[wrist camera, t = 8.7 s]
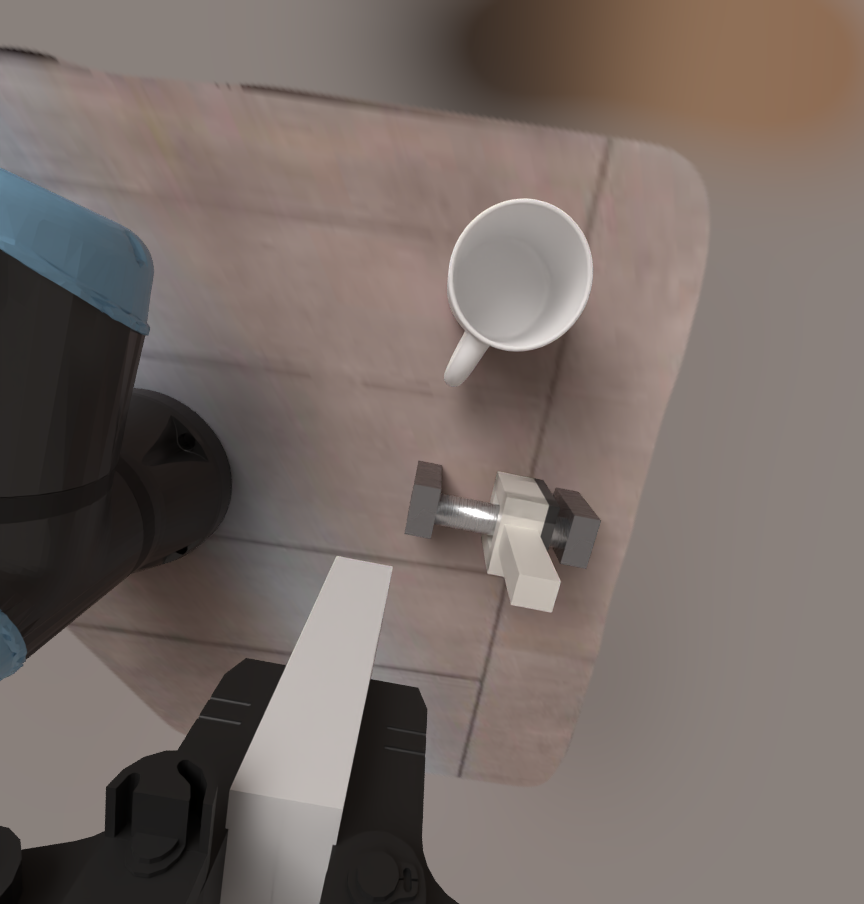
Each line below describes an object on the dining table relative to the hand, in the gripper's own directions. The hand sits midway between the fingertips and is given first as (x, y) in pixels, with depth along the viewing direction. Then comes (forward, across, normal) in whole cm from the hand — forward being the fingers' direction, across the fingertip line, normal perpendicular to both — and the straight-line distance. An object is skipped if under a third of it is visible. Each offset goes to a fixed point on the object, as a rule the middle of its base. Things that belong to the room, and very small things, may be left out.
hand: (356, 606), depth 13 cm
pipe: (+28, +8, -6) cm, 30 cm away
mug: (+29, +4, +9) cm, 30 cm away
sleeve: (+26, +9, -6) cm, 29 cm away
